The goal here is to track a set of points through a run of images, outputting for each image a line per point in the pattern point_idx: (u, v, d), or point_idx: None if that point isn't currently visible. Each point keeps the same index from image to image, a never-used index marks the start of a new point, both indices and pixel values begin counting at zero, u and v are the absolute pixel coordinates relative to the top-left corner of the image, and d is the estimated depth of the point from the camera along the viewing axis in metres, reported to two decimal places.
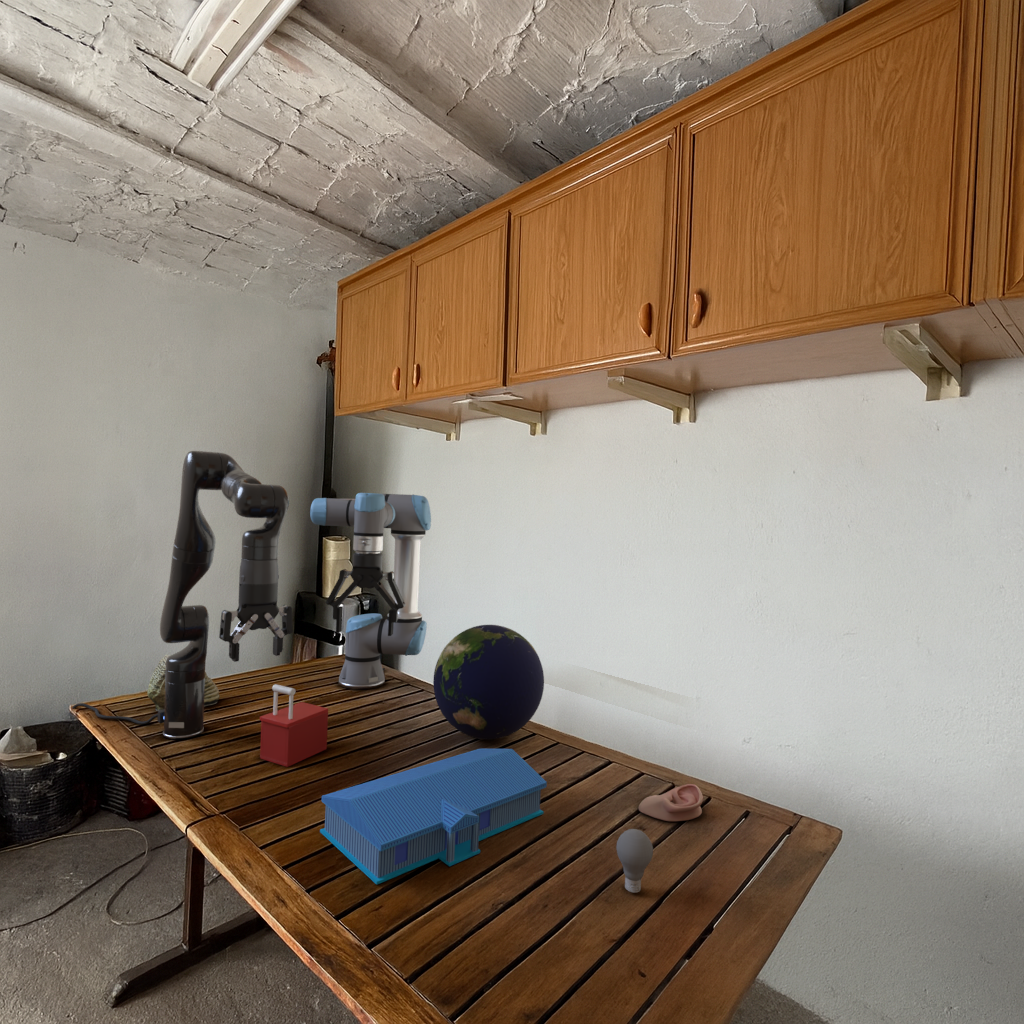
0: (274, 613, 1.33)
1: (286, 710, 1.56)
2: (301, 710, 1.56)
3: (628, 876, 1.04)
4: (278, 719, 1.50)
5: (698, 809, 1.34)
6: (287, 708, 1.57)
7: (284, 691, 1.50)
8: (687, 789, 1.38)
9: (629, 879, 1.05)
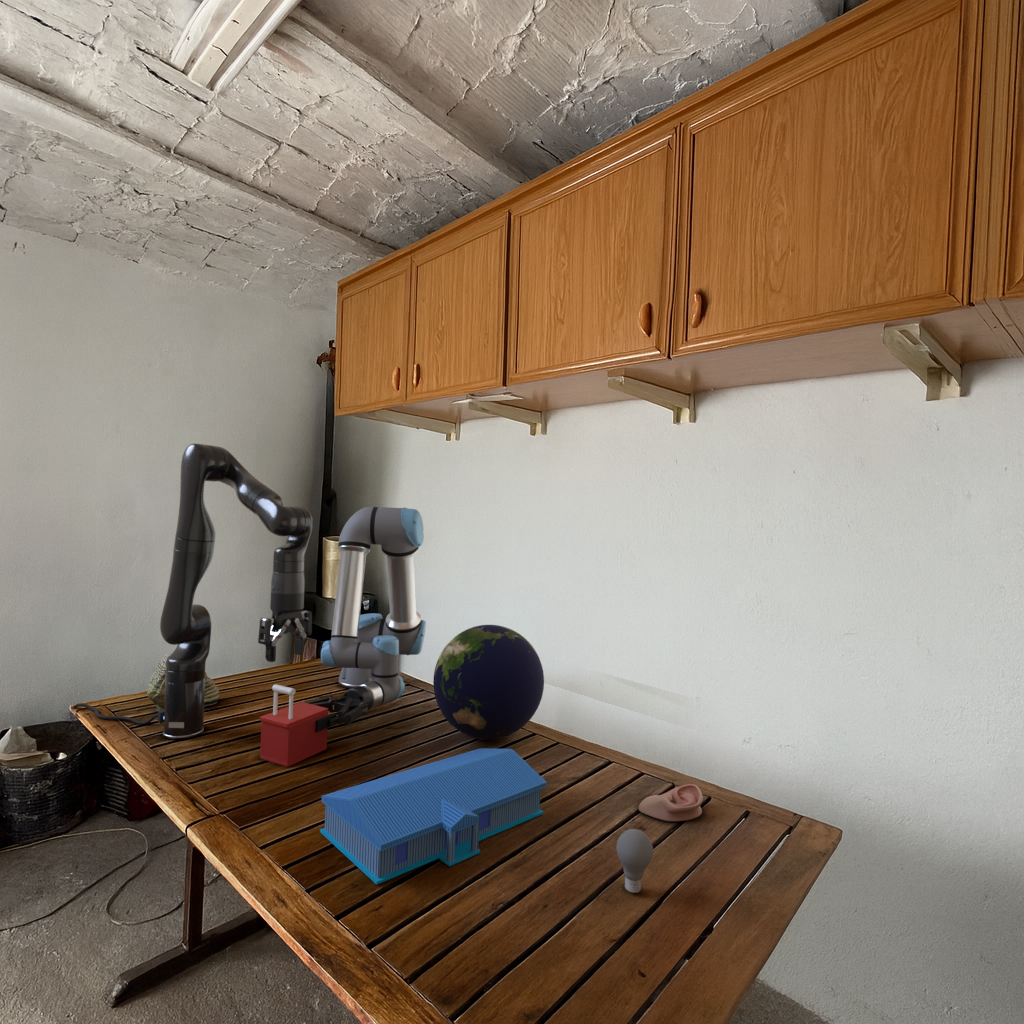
0: None
1: (286, 710, 1.56)
2: (301, 710, 1.56)
3: (628, 876, 1.04)
4: (279, 719, 1.50)
5: (698, 809, 1.34)
6: (287, 708, 1.57)
7: (284, 691, 1.50)
8: (687, 789, 1.38)
9: (629, 879, 1.05)
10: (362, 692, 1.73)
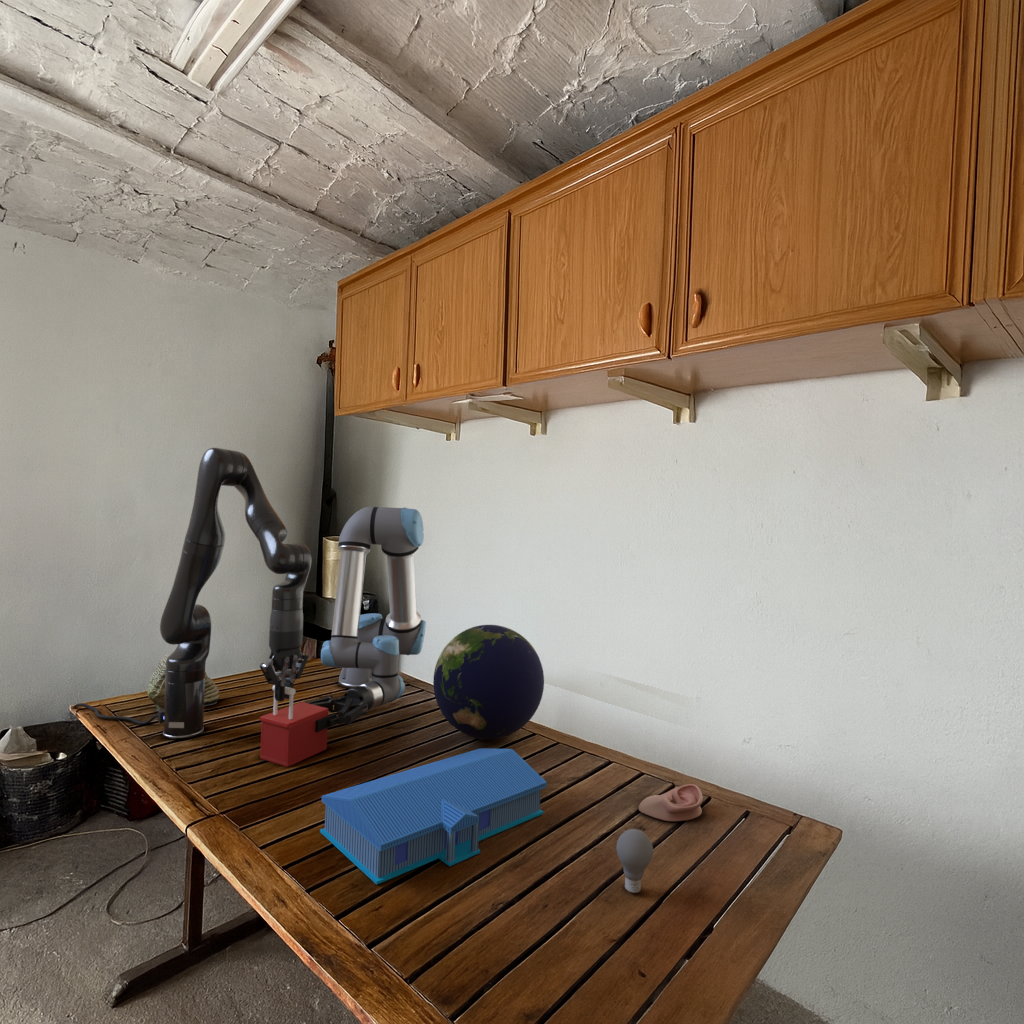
0: None
1: (286, 710, 1.56)
2: (301, 710, 1.56)
3: (628, 876, 1.04)
4: (279, 719, 1.50)
5: (698, 809, 1.34)
6: (287, 708, 1.57)
7: None
8: (687, 789, 1.38)
9: (629, 879, 1.05)
10: (362, 692, 1.73)
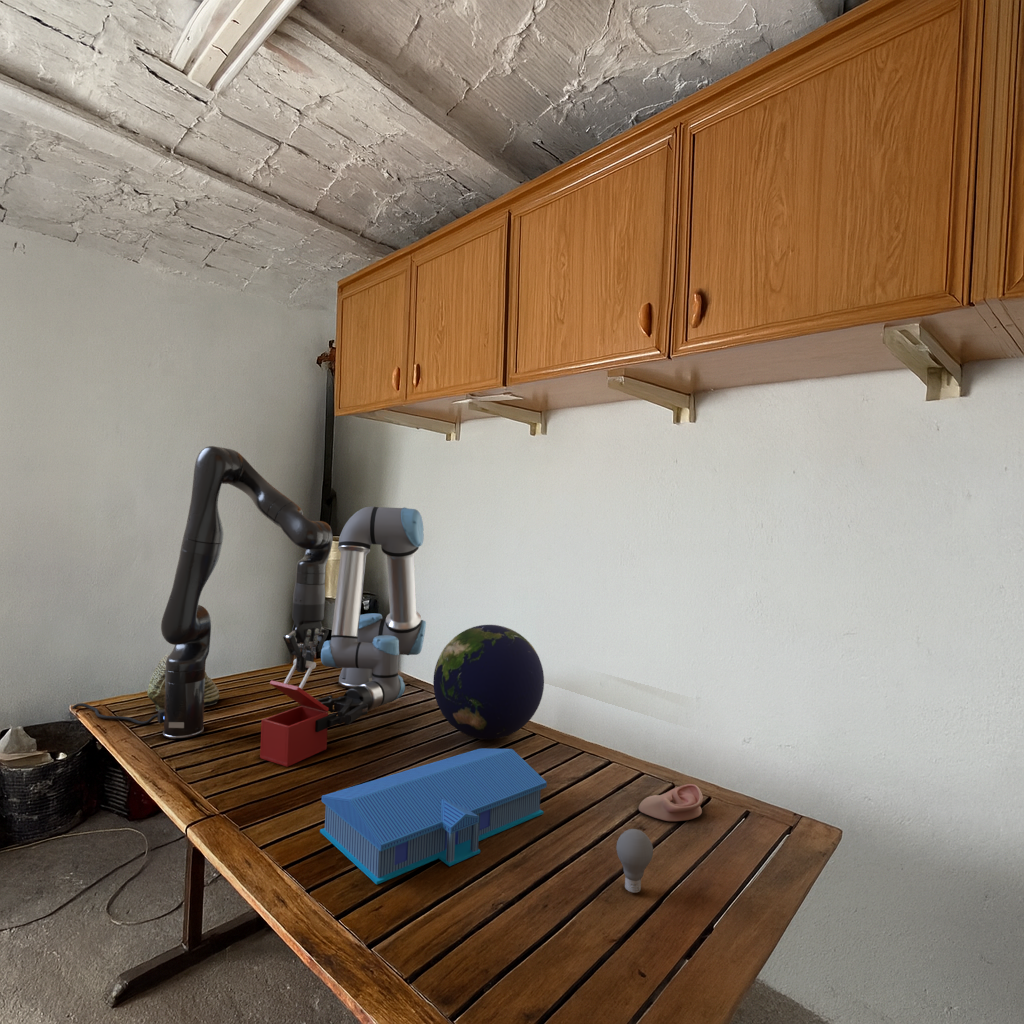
0: None
1: None
2: None
3: (628, 876, 1.04)
4: None
5: (698, 809, 1.34)
6: None
7: (306, 662, 1.56)
8: (687, 789, 1.38)
9: (629, 879, 1.05)
10: (362, 692, 1.73)
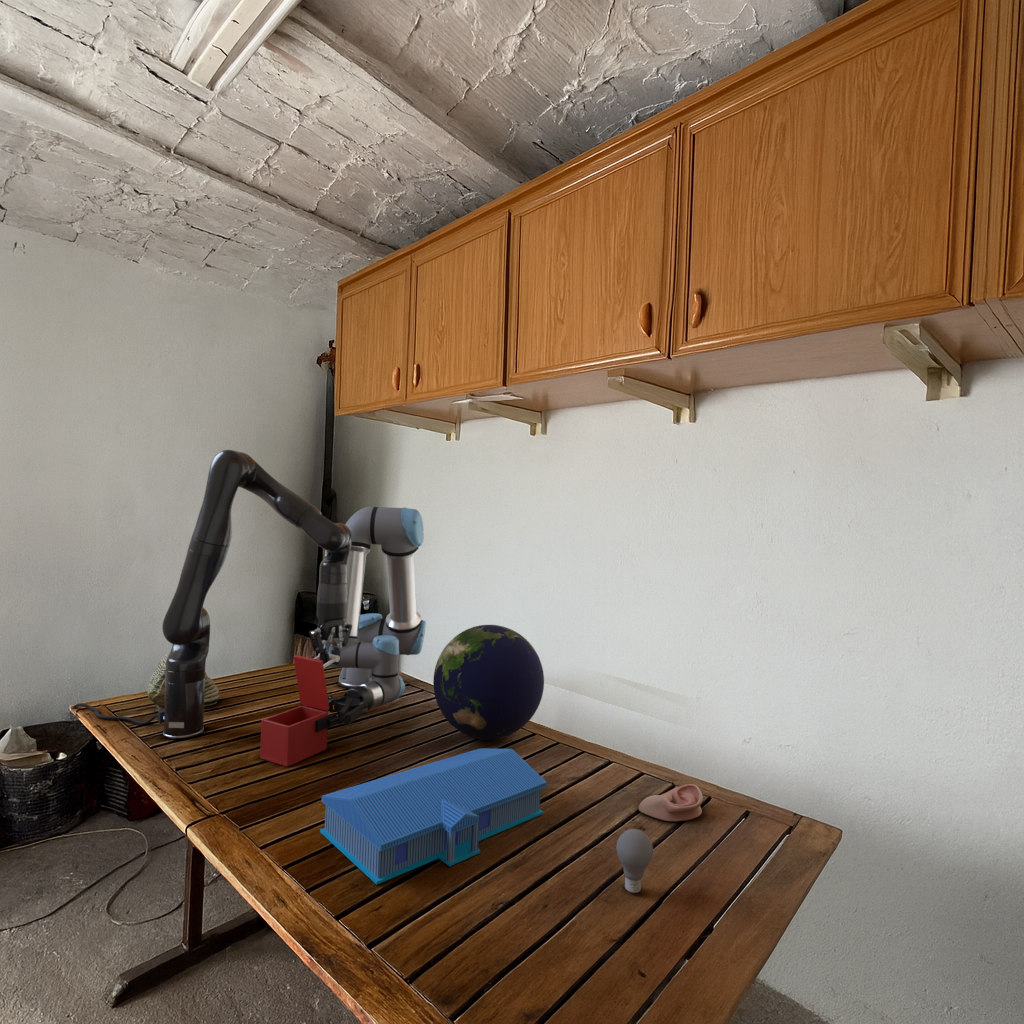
0: None
1: None
2: None
3: (628, 876, 1.04)
4: None
5: (698, 809, 1.34)
6: None
7: (331, 654, 1.64)
8: (687, 789, 1.38)
9: (629, 879, 1.05)
10: (362, 692, 1.73)
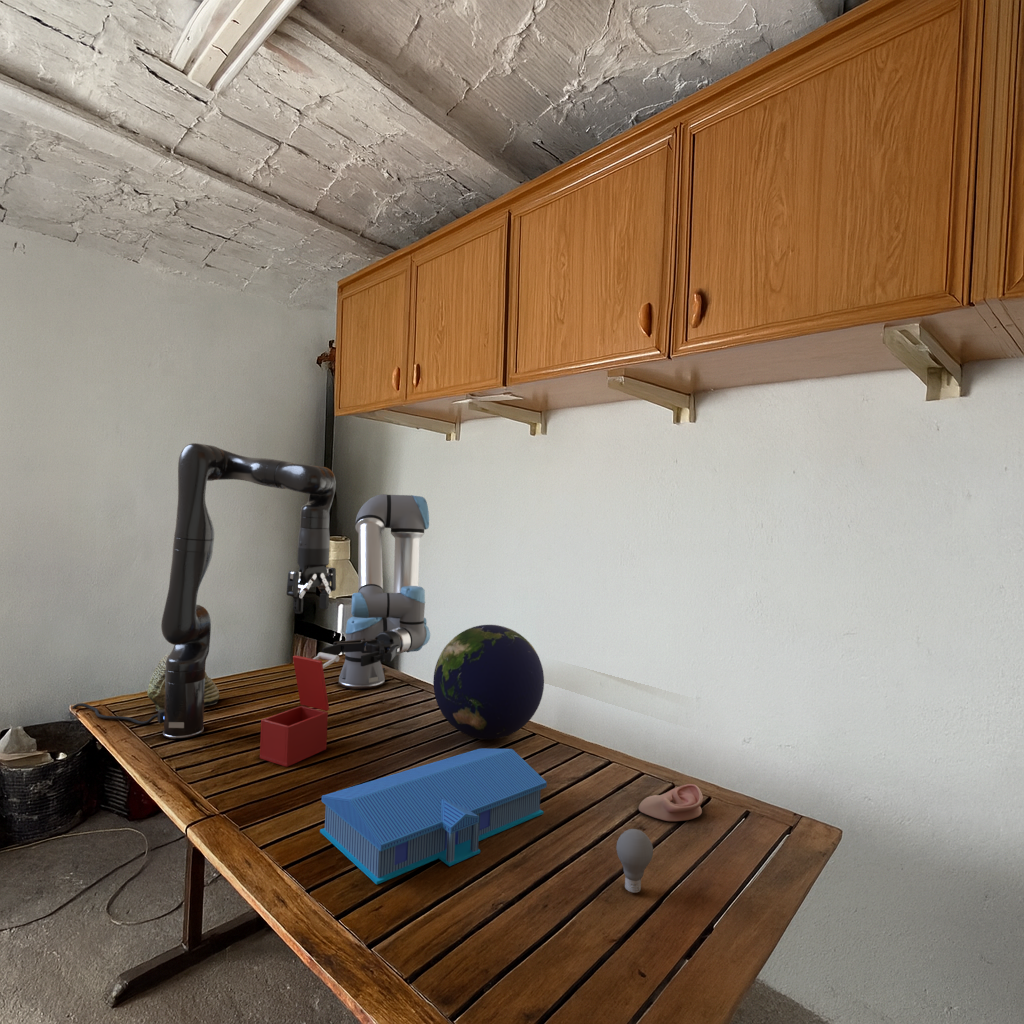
0: None
1: None
2: None
3: (628, 876, 1.04)
4: None
5: (698, 809, 1.34)
6: None
7: (331, 654, 1.64)
8: (687, 789, 1.38)
9: (629, 879, 1.05)
10: (392, 635, 1.84)
